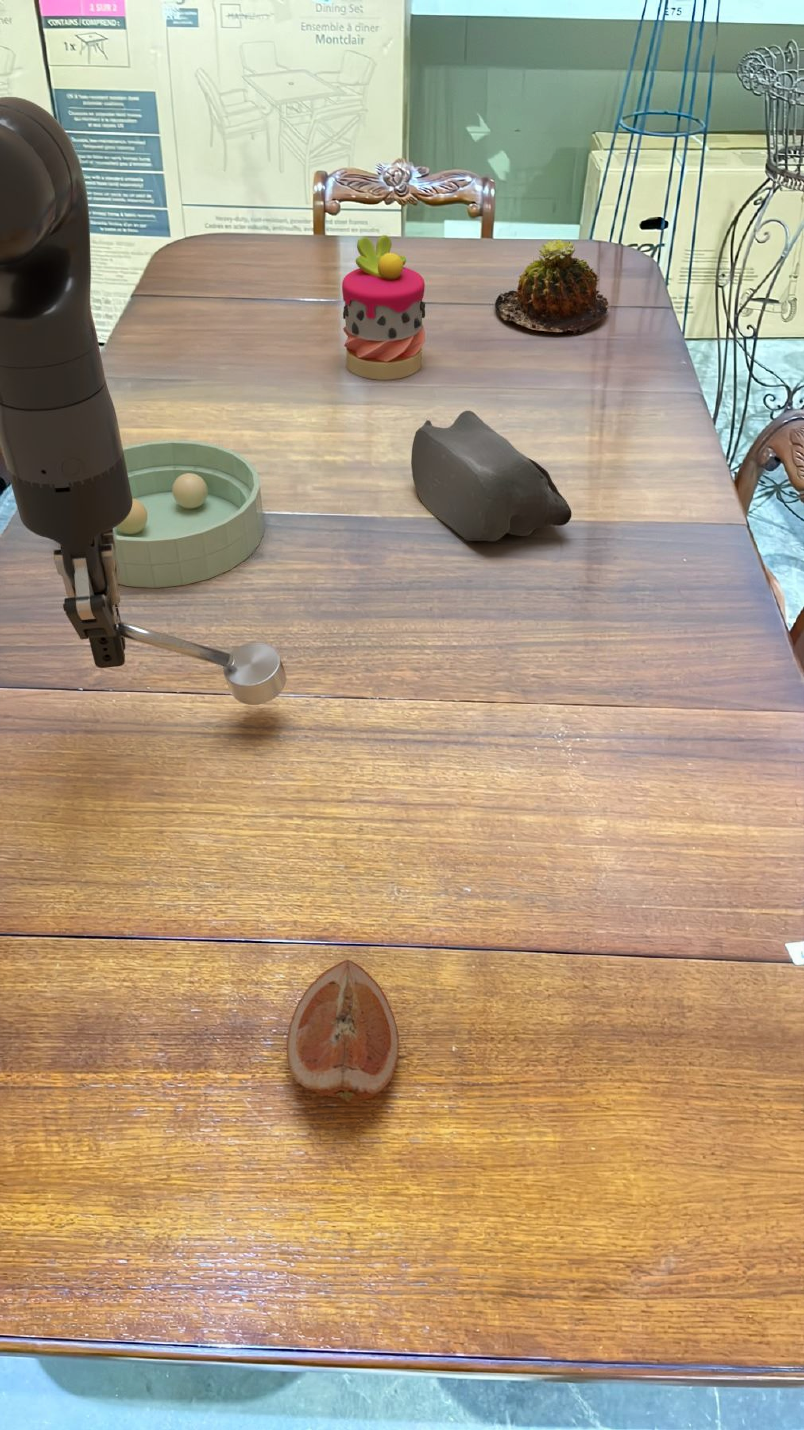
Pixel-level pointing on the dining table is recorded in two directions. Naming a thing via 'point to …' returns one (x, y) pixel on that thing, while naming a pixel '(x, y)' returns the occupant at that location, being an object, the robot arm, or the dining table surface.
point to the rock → (482, 482)
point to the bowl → (189, 514)
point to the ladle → (226, 663)
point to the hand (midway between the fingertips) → (111, 657)
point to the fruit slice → (343, 1035)
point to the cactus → (555, 293)
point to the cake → (383, 314)
